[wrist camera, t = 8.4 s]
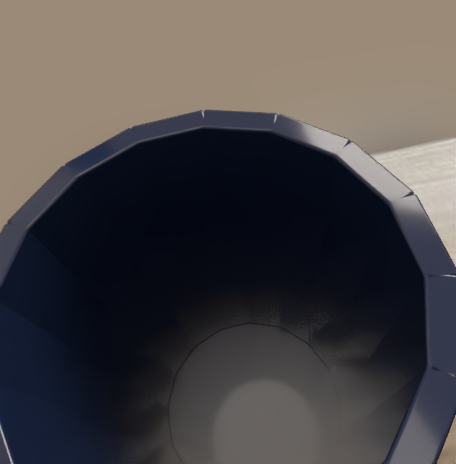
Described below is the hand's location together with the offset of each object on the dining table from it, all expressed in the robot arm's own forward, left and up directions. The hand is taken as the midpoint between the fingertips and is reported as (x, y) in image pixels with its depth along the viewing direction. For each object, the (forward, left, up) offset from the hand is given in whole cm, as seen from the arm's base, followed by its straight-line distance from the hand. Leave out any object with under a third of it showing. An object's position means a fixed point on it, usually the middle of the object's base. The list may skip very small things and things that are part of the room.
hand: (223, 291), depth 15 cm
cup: (0, -3, -4) cm, 5 cm away
